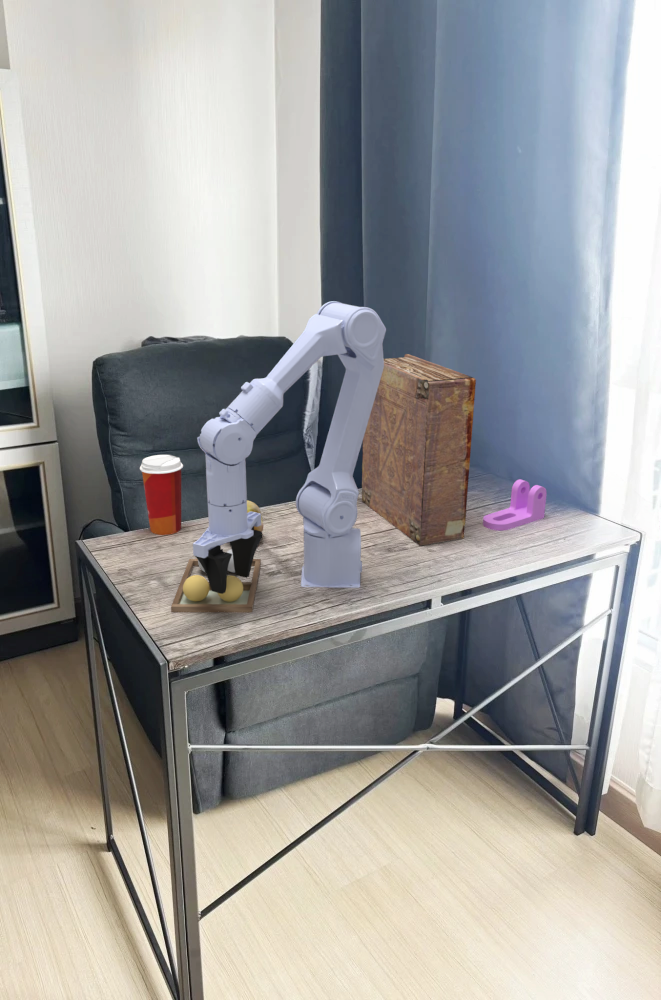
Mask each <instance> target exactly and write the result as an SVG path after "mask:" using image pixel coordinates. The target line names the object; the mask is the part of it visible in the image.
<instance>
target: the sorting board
mask: <svg viewBox="0 0 661 1000" xmlns="http://www.w3.org/2000/svg"><path fill="white" fill-rule="evenodd" d="M261 565H262V560H261V558H253V561H252V566H251V567H253V572H252V578H251V581H241V582H242V584H243V593H242V595H241V596H240V598H239V599H237V600H235V601H232V602H227V601H224V600H223V599H221V598H220V597H219V595H218V593H217V592H213V591H212V589H211V586H210V583H209V581H208V583H209V593H208V595H207V596H206V597H205V598H204V599H203V600H201V601H191V600H189V599H188V598H187V597H186V596H185V595H184V592H183V585H184V582H185V581H186V579H187V578H189V577H190V576H192V575H191V574H192V572H193V570H194V567H199V565H198V559H197V558H189V559H188V561H187V564H186V567H185V569H184V571H183V572H184V573H183V575H182V577H181V580H180V583H179V585H178V588H177V591H176V593H175V595H174V598H173V601H172V603H171V606H170V610H171V612H170V613H245V614H246V613H249V614H250V613H253V610H254V603H255V597H256V592H257V586H258V582H259V578H260V577H259V576H260V571H261Z"/></svg>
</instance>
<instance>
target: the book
mask: <svg viewBox="0 0 661 1000" xmlns="http://www.w3.org/2000/svg"><path fill="white" fill-rule="evenodd" d="M476 383H477V379H476V378H475V377H474V376H471V375H468V374H464V373H462V372H459V371H456V370H454V369H451V368H448V367H445V366H443V365H440V364H437V363H434V362H431V361H428V360H425V359H423V358H421V357H420V358H419V357H417V356H415V355H411V354H410V353H409V354H408V353H405V354H404V357H392V358H384V368H383V372H382V376H381V379H380V382H379V386H378V389H377V393H376V396H375V400H374V403H373V407H372V410H371V413H370V417H369V420H368V424H367V427H366V431H365V434H364V438H363V441H362V463H361V464H362V465H361V469H362V470H361V472H362V473H361V474H362V475H361V501H362V503H363V504H364V505H365V506H367V507H369V508H370V509H371V510H372V511H374V512H375V513H376V514H377V515H379V516H380V517H381V518H382V519H384V520H385V521H387V522H388V523H389V524H391V525H392V526H393V527H395V528H396V529H397V530H399V531H400V532H401V533H403V534H404V535H405V536H406V537H407V538H409V539H411V540H412V541H413V542H414V543H416V544H417V545H418V546H419V547H420V546H422V547H423V546H426V545H427V546H428V545H432V544H438V543H443V542H449V541H450V542H451V541H455V540H461V539H464V538H465V534H466V533H465V531H466V530H465V528H466V517H467V506H468V503H467V502H468V492H469V490H468V488H469V478H470V477H469V475H470V466H471V465H470V464H471V451H472V438H473V424H474V412H475V411H474V410H475V400H476V399H475V398H476V397H475V396H476Z"/></svg>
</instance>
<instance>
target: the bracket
mask: <svg viewBox="0 0 661 1000" xmlns="http://www.w3.org/2000/svg"><path fill="white" fill-rule="evenodd" d="M546 501H547V489H546V488H545V487H544V486H541V485H538V484H535V485H533V486H532V487H531V486H530V482H528V481H527V480H523V479H520V478H519V479H517V480H515V481H514V483H513V485H512V486H511V494H510V504H509V507H507V508H505V509H501V510H497V511H495V512H492V513H489V514H485V515H484V516H483V518H482V527H484V528H486V529H488V530H491V531H497V532H498V531H508V530H511V529H515V528H518V527H520V526H523V525H528V524H530V523H533V522H536V521H540V520H542V519H544V518H545V512H546V504H547V503H546Z"/></svg>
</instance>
